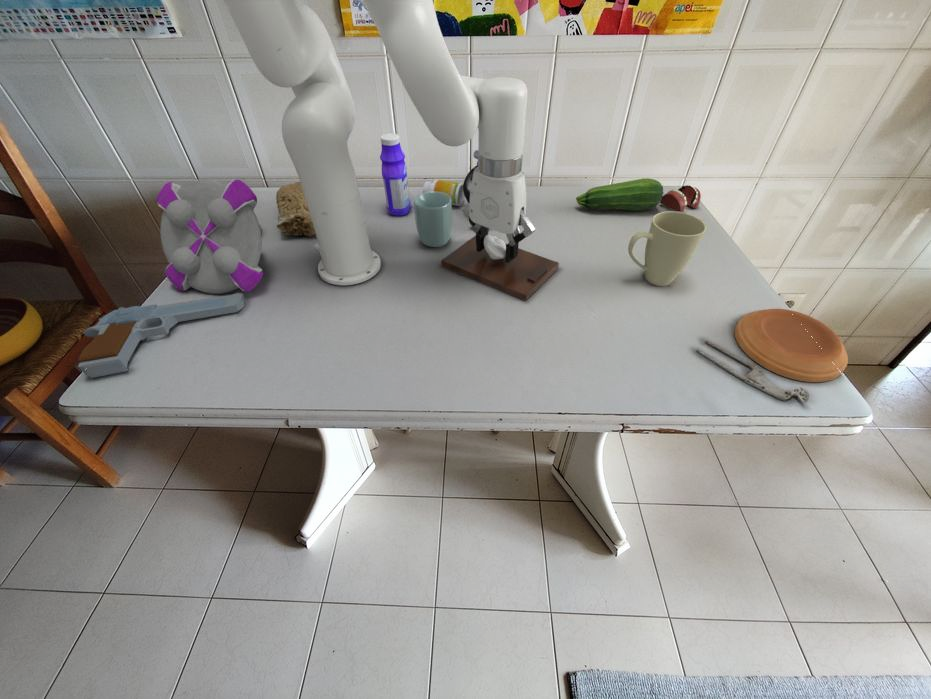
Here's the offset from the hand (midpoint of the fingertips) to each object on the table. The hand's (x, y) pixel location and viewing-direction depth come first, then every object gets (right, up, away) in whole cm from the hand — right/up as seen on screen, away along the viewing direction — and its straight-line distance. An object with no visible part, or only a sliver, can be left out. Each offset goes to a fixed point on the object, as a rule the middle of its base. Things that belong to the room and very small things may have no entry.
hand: (496, 253), depth 85 cm
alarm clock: (-1, +14, +18) cm, 23 cm away
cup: (-13, +4, +9) cm, 16 cm away
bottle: (-23, +15, +20) cm, 34 cm away
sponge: (-46, +12, +17) cm, 50 cm away
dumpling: (0, -1, +1) cm, 1 cm away
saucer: (+47, -17, -17) cm, 53 cm away
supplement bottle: (-7, +19, +19) cm, 28 cm away
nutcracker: (+36, -24, -21) cm, 48 cm away
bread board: (+1, -3, +2) cm, 3 cm away
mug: (+31, -6, -2) cm, 31 cm away
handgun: (-55, -21, -18) cm, 62 cm away
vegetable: (+31, +15, +19) cm, 39 cm away
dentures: (+43, +16, +16) cm, 48 cm away
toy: (-55, +1, -9) cm, 56 cm away
